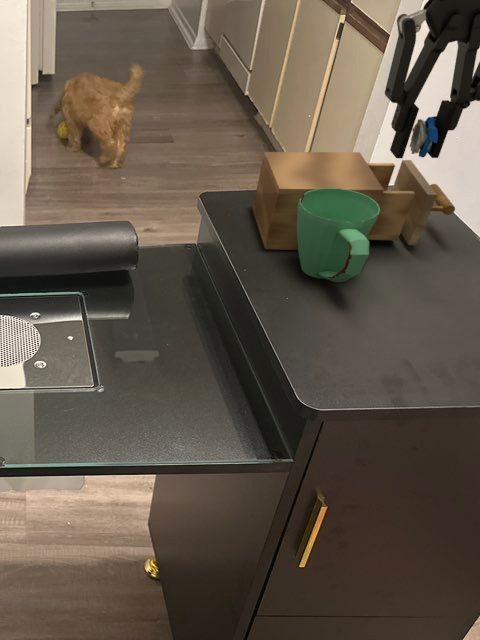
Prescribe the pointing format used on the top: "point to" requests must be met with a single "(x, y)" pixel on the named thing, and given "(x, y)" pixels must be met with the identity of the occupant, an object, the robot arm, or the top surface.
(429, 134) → the toy
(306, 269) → the mug
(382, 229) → the drawer
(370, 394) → the top surface
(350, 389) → the top surface
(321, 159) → the cabinet
